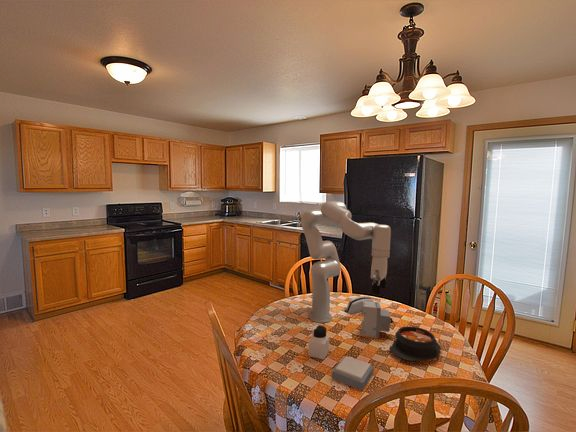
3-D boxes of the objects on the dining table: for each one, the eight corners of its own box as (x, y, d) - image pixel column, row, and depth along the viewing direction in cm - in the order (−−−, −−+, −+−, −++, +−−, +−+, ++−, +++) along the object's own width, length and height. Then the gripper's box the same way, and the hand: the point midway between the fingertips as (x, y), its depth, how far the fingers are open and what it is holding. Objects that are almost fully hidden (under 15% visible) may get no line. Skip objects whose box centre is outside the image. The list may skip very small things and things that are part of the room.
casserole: (414, 336, 146) (415, 319, 146) (451, 354, 131) (453, 335, 130) (378, 350, 133) (379, 331, 132) (415, 372, 118) (417, 351, 117)
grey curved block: (367, 306, 182) (371, 293, 178) (371, 311, 178) (376, 298, 174) (343, 310, 175) (347, 296, 171) (348, 316, 171) (352, 302, 167)
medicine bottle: (329, 351, 131) (329, 325, 130) (324, 360, 125) (324, 332, 124) (313, 347, 134) (314, 322, 133) (307, 356, 128) (308, 329, 126)
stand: (331, 378, 113) (332, 368, 112) (344, 363, 123) (344, 353, 122) (362, 390, 106) (363, 380, 106) (373, 373, 116) (374, 363, 116)
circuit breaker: (392, 339, 142) (394, 309, 141) (361, 336, 145) (363, 306, 144) (390, 332, 150) (392, 303, 148) (361, 329, 153) (362, 300, 151)
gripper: (377, 248, 141) (375, 283, 143) (366, 255, 126) (364, 294, 128) (393, 250, 137) (392, 286, 139) (384, 257, 122) (382, 298, 124)
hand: (378, 290), depth 133 cm, fingers open, 9 cm apart
